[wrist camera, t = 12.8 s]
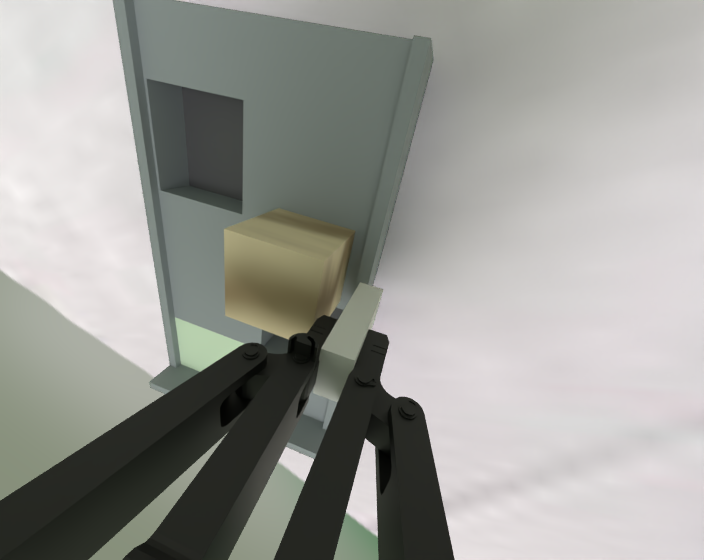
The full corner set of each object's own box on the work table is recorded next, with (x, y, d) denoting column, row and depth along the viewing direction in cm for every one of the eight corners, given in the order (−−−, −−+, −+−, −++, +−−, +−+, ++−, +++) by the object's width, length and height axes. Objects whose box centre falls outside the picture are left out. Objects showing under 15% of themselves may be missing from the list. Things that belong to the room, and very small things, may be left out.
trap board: (165, 13, 19) (59, -39, 13) (433, 59, 16) (429, 16, 11) (196, 349, 33) (150, 387, 28) (340, 406, 30) (319, 461, 25)
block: (278, 208, 19) (223, 228, 14) (355, 230, 18) (324, 261, 13) (273, 278, 22) (225, 315, 17) (340, 301, 21) (309, 347, 16)
